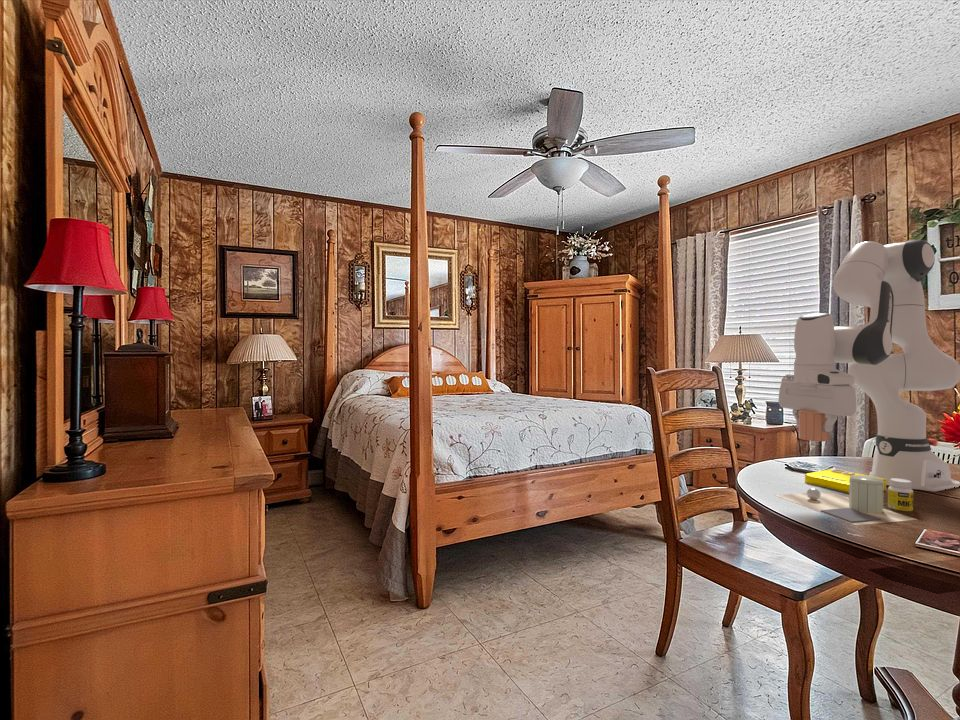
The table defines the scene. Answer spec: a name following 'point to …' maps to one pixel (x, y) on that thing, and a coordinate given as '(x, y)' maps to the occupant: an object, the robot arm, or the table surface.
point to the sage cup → (866, 494)
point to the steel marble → (813, 494)
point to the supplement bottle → (900, 495)
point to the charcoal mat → (850, 515)
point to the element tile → (833, 479)
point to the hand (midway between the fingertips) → (813, 429)
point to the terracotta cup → (812, 426)
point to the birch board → (838, 502)
